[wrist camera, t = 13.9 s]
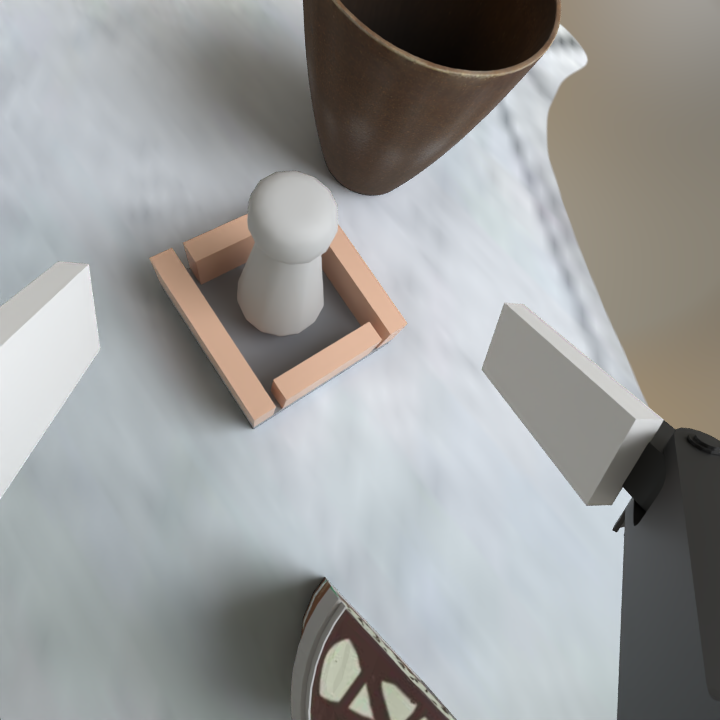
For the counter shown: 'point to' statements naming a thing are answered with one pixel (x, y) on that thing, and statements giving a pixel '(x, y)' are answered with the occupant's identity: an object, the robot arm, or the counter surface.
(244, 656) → the counter surface
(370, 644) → the food container
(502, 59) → the plant pot
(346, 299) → the socket board
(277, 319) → the salt shaker
